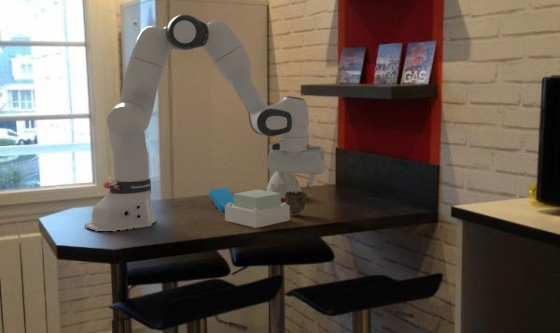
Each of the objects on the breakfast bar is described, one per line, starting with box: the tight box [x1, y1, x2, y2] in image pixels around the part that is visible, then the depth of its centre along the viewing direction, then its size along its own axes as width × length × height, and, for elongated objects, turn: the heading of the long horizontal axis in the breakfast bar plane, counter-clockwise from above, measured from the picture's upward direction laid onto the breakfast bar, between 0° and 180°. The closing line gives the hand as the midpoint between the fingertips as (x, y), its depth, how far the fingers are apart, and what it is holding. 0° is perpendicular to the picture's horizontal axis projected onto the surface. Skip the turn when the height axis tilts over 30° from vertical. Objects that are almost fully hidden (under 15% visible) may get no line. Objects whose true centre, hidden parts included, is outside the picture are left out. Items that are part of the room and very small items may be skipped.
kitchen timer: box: [266, 172, 302, 203], centre depth 247 cm, size 14×14×15 cm
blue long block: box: [208, 187, 233, 213], centre depth 234 cm, size 7×7×18 cm
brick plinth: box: [224, 189, 291, 229], centre depth 209 cm, size 15×15×9 cm
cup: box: [285, 190, 307, 217], centre depth 216 cm, size 8×7×8 cm
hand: (296, 185), depth 215 cm, fingers open, 8 cm apart
